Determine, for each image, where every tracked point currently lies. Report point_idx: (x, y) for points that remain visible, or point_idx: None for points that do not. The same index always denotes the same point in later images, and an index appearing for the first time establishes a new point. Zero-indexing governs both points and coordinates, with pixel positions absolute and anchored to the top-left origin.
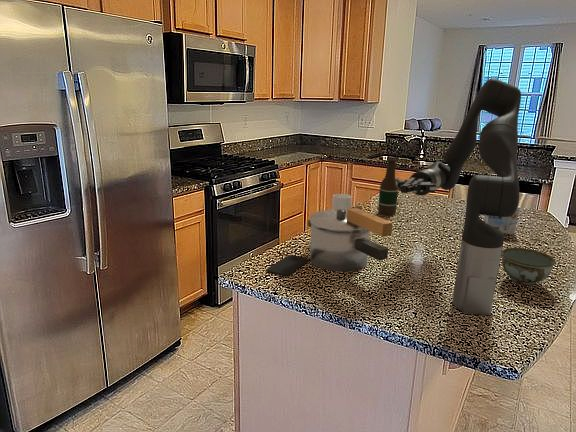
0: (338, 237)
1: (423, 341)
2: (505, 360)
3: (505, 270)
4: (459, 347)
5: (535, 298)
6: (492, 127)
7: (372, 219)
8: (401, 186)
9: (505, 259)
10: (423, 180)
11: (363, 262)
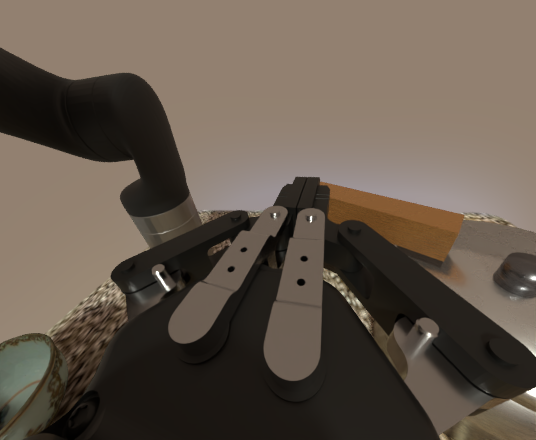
0: None
1: (253, 211)
2: (200, 215)
3: (64, 390)
4: None
5: (82, 334)
6: None
7: (346, 188)
8: (319, 179)
9: (52, 371)
10: (177, 322)
11: (375, 323)
